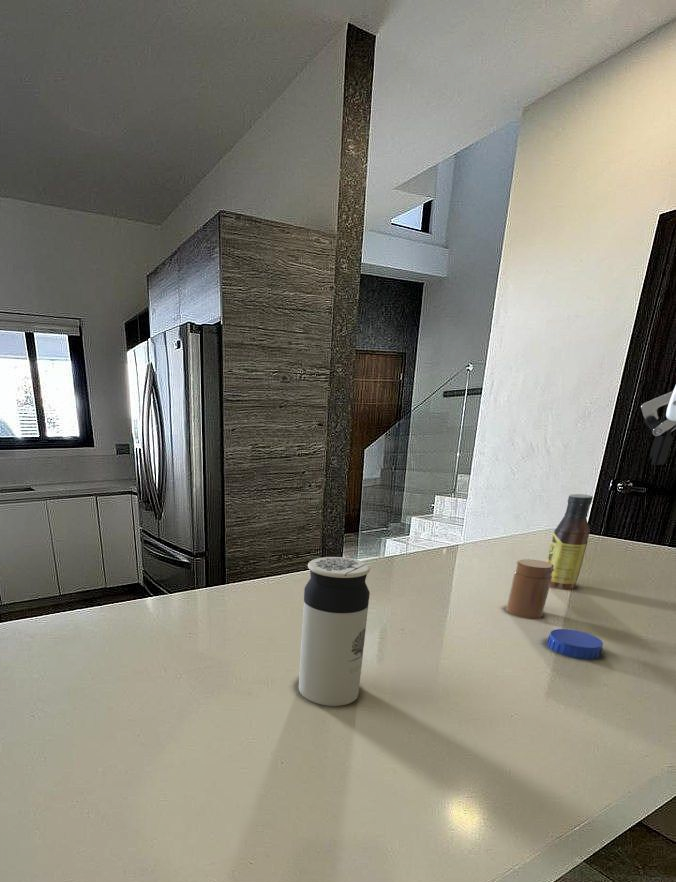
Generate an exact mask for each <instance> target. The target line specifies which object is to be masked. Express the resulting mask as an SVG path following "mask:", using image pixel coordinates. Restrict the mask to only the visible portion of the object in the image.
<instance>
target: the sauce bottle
mask: <svg viewBox="0 0 676 882" xmlns="http://www.w3.org/2000/svg"><path fill="white" fill-rule="evenodd" d="M593 499H594V497H593V496H592V495H589V494H584V493H583V494H582V493H574V494H569V495H568V498H567V506H566V510H565V513H564V516H563V517H562V519H561V520H560V522H559V523H558V525H557V526H556V527H555V529H554V530H553V533H552V537H551V542H550V545H549V549H548V554H547V557H546V562H548V563H551V564H553V565H554V567H553V569H554V570H553V572H552V575H551V576H552V579H551V583H550V587H549V588H554V589H560V590H572V589H574V588H575V587H576V585H577V582H578V579H579V576H580V572H581V568H582V565H583V561H584V558H585V553H586V550H587V546H588V540H589V535H590V532H591V527H590V523H588V520H587V517H588V513H589V510H590V506H591V504H592V502H593Z"/></svg>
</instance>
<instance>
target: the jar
mask: <svg viewBox="0 0 676 882" xmlns="http://www.w3.org/2000/svg"><path fill="white" fill-rule="evenodd" d="M515 567H516V568H515V570H514V572H513V576H512V581H511V585H510V589H509V594H508V599H507V604H506V608H505V611H506V612H507V613H509V614H510V615H512V616H516V617H519V618H523V619H540V618H542V617H543V615H544V611H545V607H546V602H547V598H548V595H549V592H550V591H549V590H550V588H551V587H550V583H551V579H552V576H551V575H552V572H553V570H554V569H553V567H554V565H553V564H551V563H548V562H547V561H546V560H545V561H544V560H541V559H533V558H532V559H531V558H523V559H522V558H521V559H519V560H517V561H516V566H515Z"/></svg>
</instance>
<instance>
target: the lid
mask: <svg viewBox="0 0 676 882" xmlns="http://www.w3.org/2000/svg"><path fill="white" fill-rule="evenodd" d="M546 644H547V647H548V648H550V649H551V650H552V651H554V652H555V653H558V654H561V655H562V656H566V657H569V658H574V659H580V660H596V659H598V658H600V656H601V655H602V652H603V646H604V642H603V640H602V639H600V638H599V637H597V636H595V635H593V634H591V633H588V632H584V631H580V630H577V629H568V628H557V629H553V630H551V631H550V633H549V634H548V638H547V643H546Z"/></svg>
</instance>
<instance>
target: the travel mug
mask: <svg viewBox="0 0 676 882" xmlns="http://www.w3.org/2000/svg"><path fill="white" fill-rule="evenodd" d="M307 568H308V569H309V572H310V573H309V574H310V577H309V579H308V581H307V583H306V584H305V586H304V588H303V590H304V592H303V609H302V622H301V623H302V626H301V640H300V658H299V675H298V691H299V692H300V694H301V695H302V696H303V698H305V699H307V700H309V701H310V702H313V703H316V704H318V705H322V706H329V707H338V706H346V705H348V704H351V703H353V702H354V701H356V700H357V699H358V697H359V693H360V686H361V685H360V684H361V675H362V666H363V656H364V648H365V647H364V646H365V640H366V639H365V638H366V631H367V630H366V629H367V621H368V612H369V603H370V595H371V593H370V592H371V591H370V590H369V587H368V585H367V583H366V579H367V576H368V574H369V573H370V572H371V566H370V565H369V564H368V563H366V562H365V561H362V560H359V559H356V558H351V557H344V556H343V557H342V556H325V557H318V558H315V559H312V560H310V561H309V562H307Z"/></svg>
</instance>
